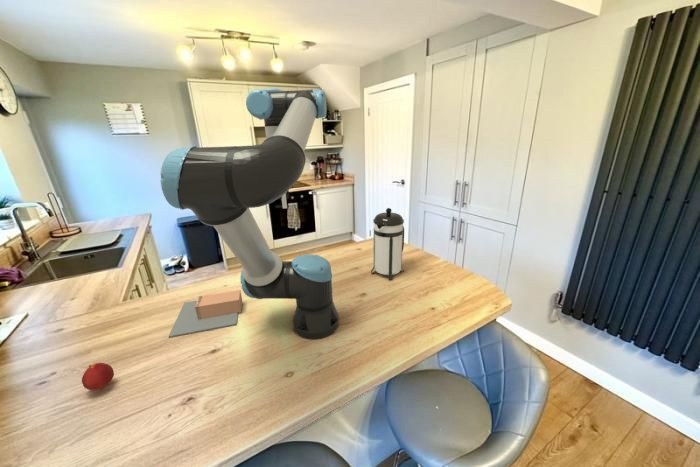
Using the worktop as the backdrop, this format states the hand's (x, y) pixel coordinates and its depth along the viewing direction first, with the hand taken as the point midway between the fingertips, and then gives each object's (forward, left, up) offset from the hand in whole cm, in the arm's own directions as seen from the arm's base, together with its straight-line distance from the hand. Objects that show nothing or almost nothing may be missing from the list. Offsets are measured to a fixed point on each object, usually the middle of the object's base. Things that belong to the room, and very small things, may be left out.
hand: (284, 207), depth 103 cm
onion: (-33, +51, -35) cm, 70 cm away
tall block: (-7, +19, -31) cm, 37 cm away
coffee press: (+2, -43, -35) cm, 55 cm away
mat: (-7, +31, -34) cm, 47 cm away
